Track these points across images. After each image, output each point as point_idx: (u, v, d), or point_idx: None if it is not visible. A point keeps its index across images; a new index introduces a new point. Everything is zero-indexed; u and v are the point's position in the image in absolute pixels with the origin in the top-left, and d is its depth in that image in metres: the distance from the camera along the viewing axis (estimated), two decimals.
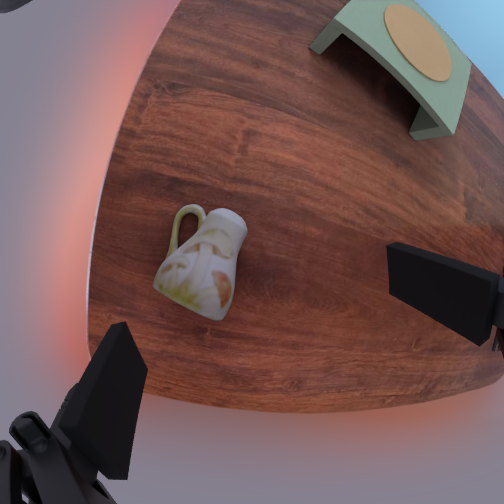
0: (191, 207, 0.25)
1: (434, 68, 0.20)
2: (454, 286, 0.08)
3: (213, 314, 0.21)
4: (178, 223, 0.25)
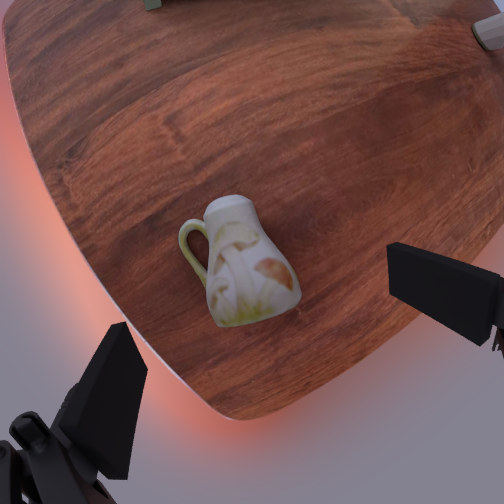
0: (185, 227, 0.22)
1: None
2: (454, 286, 0.08)
3: (289, 303, 0.18)
4: (188, 250, 0.22)
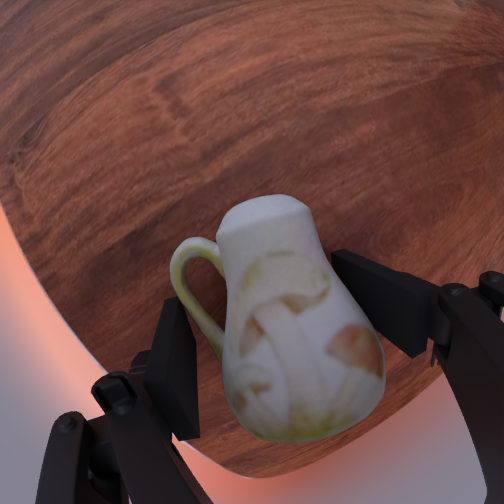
0: (182, 252, 0.12)
1: None
2: (385, 296, 0.09)
3: (377, 399, 0.08)
4: (188, 293, 0.12)
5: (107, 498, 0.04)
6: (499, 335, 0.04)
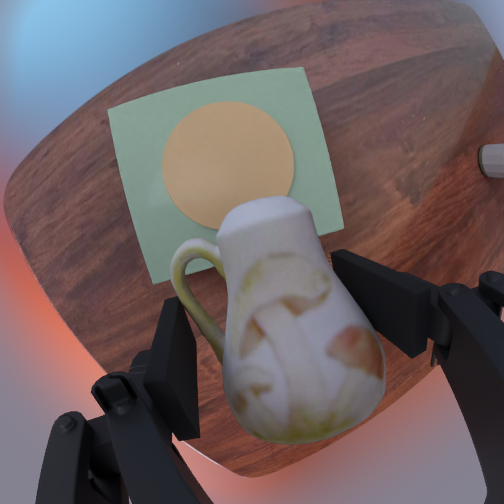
0: (182, 253, 0.12)
1: (271, 184, 0.22)
2: (385, 296, 0.09)
3: (377, 400, 0.08)
4: (188, 294, 0.12)
5: (107, 498, 0.04)
6: (499, 335, 0.04)
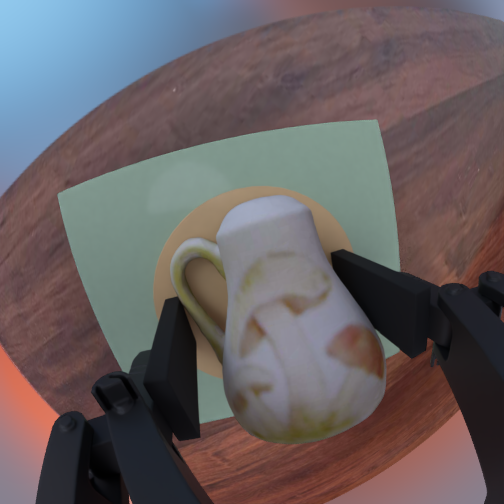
0: (182, 253, 0.12)
1: None
2: (385, 296, 0.09)
3: (377, 400, 0.08)
4: (188, 294, 0.12)
5: (107, 498, 0.04)
6: (499, 335, 0.04)
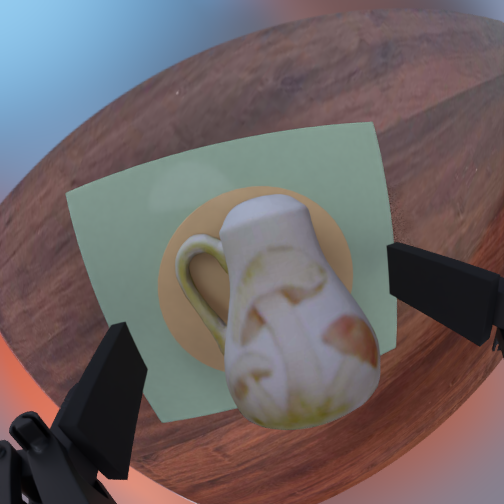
0: (187, 249, 0.13)
1: None
2: (454, 287, 0.08)
3: (372, 388, 0.09)
4: (192, 288, 0.13)
5: None
6: None
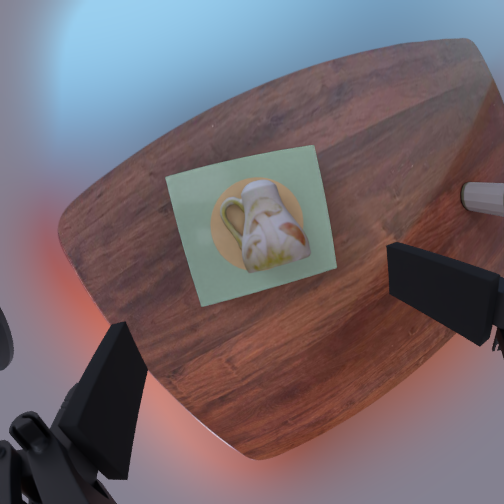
0: (226, 202, 0.30)
1: None
2: (454, 287, 0.08)
3: (303, 254, 0.26)
4: (227, 220, 0.30)
5: None
6: None
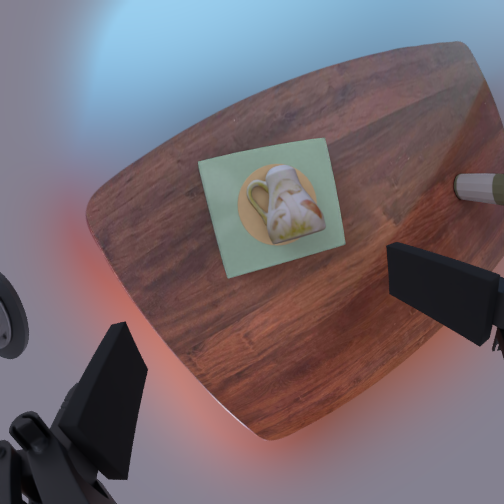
0: (252, 184, 0.34)
1: None
2: (454, 286, 0.08)
3: (320, 225, 0.31)
4: (253, 199, 0.35)
5: None
6: None
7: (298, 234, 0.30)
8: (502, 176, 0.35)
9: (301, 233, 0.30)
